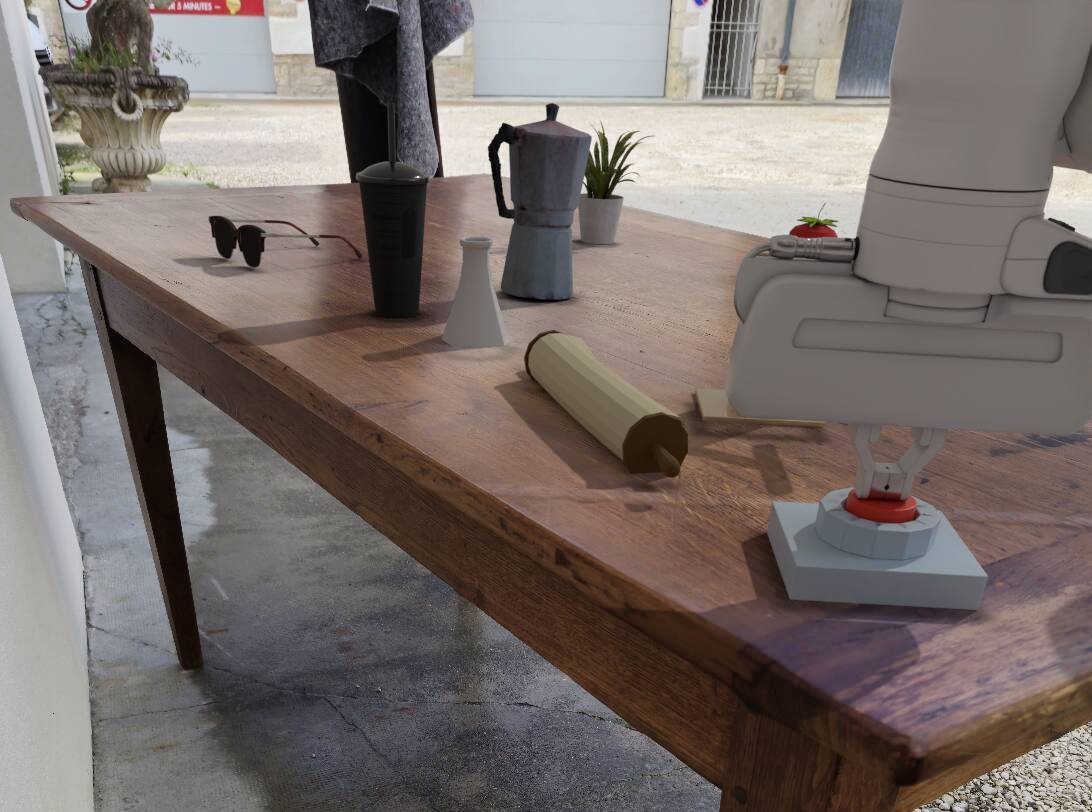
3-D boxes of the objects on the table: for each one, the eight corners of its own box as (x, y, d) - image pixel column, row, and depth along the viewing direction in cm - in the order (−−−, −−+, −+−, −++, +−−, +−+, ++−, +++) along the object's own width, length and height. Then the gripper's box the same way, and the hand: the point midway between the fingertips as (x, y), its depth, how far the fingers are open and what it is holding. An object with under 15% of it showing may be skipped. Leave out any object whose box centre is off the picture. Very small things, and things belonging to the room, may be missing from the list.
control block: (932, 541, 69) (948, 483, 67) (978, 610, 61) (998, 547, 58) (766, 532, 69) (776, 474, 67) (789, 600, 61) (802, 536, 59)
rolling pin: (511, 376, 97) (513, 320, 94) (568, 374, 99) (571, 318, 96) (635, 504, 72) (642, 433, 69) (708, 499, 74) (718, 429, 71)
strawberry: (806, 280, 142) (821, 198, 136) (839, 292, 136) (856, 206, 130) (769, 282, 140) (783, 198, 134) (801, 293, 134) (816, 207, 128)
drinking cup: (438, 308, 119) (436, 103, 108) (421, 323, 113) (417, 107, 102) (374, 303, 120) (365, 99, 109) (353, 317, 114) (342, 103, 102)
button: (899, 519, 65) (907, 487, 64) (916, 545, 62) (924, 512, 61) (835, 515, 65) (842, 483, 64) (848, 541, 62) (856, 508, 61)
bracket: (805, 407, 93) (835, 251, 85) (822, 436, 86) (855, 269, 79) (693, 401, 93) (713, 244, 86) (701, 430, 86) (723, 262, 79)
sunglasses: (210, 254, 140) (207, 213, 137) (313, 252, 150) (312, 213, 147) (263, 272, 132) (261, 228, 129) (368, 268, 142) (368, 227, 139)
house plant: (657, 238, 166) (669, 118, 156) (645, 252, 154) (657, 124, 145) (569, 231, 168) (576, 113, 159) (551, 244, 157) (557, 118, 147)
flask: (443, 356, 102) (442, 245, 96) (436, 338, 108) (435, 231, 102) (515, 356, 103) (519, 246, 98) (505, 338, 109) (508, 233, 103)
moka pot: (606, 294, 129) (620, 105, 118) (520, 311, 120) (526, 107, 108) (550, 281, 134) (558, 99, 123) (463, 296, 125) (463, 101, 113)
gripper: (750, 242, 52) (711, 505, 60) (1162, 265, 52) (1068, 527, 60) (736, 223, 57) (702, 468, 65) (1111, 243, 57) (1030, 487, 65)
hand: (880, 496), depth 62 cm, fingers closed, pressing on button
